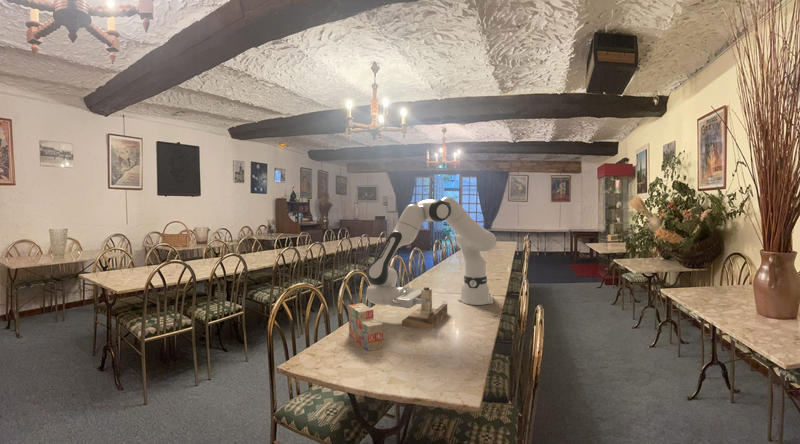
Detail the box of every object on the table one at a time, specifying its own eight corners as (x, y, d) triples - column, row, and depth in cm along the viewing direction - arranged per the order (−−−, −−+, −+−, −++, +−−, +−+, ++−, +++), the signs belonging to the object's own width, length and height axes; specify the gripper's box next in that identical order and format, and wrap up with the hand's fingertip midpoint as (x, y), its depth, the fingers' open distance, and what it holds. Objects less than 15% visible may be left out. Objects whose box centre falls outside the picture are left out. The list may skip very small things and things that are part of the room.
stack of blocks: (383, 348, 138) (383, 315, 137) (367, 351, 135) (367, 318, 134) (362, 331, 157) (362, 302, 156) (348, 333, 154) (348, 304, 153)
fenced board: (420, 311, 184) (419, 301, 184) (447, 314, 178) (447, 303, 178) (401, 325, 163) (401, 314, 163) (432, 329, 157) (432, 317, 157)
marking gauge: (425, 313, 168) (425, 285, 168) (433, 314, 167) (433, 286, 166) (420, 317, 162) (419, 288, 161) (428, 318, 161) (428, 289, 160)
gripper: (390, 295, 159) (420, 298, 154) (407, 285, 178) (435, 287, 172) (390, 309, 159) (420, 313, 154) (408, 298, 178) (435, 301, 173)
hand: (428, 299), depth 163 cm, fingers closed on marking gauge, 4 cm apart
